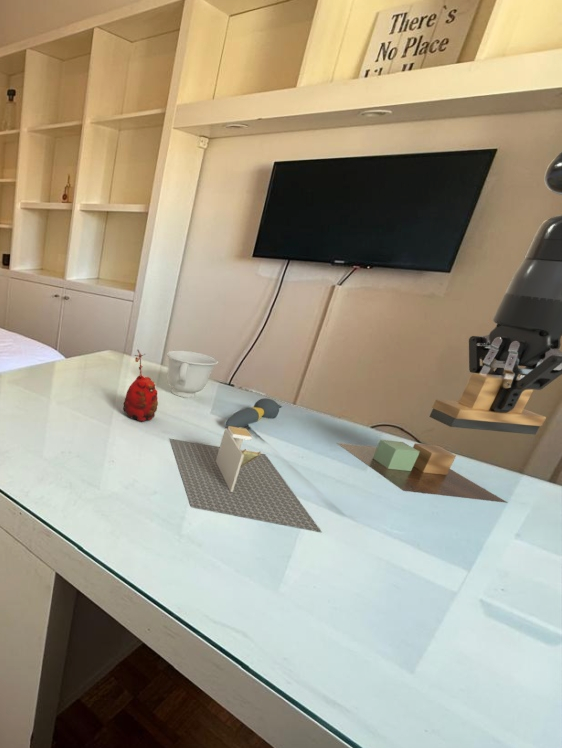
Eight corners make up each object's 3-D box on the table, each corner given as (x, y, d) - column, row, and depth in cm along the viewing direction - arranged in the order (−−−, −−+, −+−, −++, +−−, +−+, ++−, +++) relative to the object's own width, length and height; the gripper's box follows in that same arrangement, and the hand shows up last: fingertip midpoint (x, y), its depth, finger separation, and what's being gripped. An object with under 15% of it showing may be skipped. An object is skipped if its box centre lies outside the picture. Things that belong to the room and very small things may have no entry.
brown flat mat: (418, 456, 91) (420, 451, 91) (504, 508, 74) (508, 502, 74) (333, 447, 92) (335, 442, 92) (400, 496, 76) (403, 490, 75)
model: (234, 464, 82) (246, 426, 80) (252, 495, 73) (265, 453, 70) (215, 461, 83) (226, 423, 80) (230, 491, 73) (243, 449, 71)
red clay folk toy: (150, 426, 97) (165, 358, 91) (117, 417, 100) (129, 351, 95) (157, 415, 103) (171, 351, 97) (126, 407, 106) (138, 345, 101)
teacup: (150, 396, 114) (158, 358, 111) (165, 382, 126) (173, 347, 122) (201, 409, 108) (211, 369, 104) (212, 394, 119) (222, 357, 116)
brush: (508, 423, 73) (532, 376, 70) (536, 435, 68) (564, 385, 66) (427, 416, 74) (448, 369, 71) (451, 427, 69) (474, 378, 67)
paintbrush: (242, 436, 94) (249, 414, 93) (219, 427, 98) (225, 406, 96) (283, 419, 106) (289, 399, 104) (260, 411, 109) (266, 392, 108)
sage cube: (394, 460, 86) (403, 441, 84) (411, 471, 82) (420, 451, 81) (372, 458, 86) (380, 439, 85) (387, 468, 82) (396, 449, 81)
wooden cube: (428, 464, 85) (437, 445, 84) (446, 475, 82) (456, 455, 80) (406, 462, 86) (414, 443, 84) (422, 472, 82) (432, 453, 81)
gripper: (636, 304, 57) (565, 429, 63) (523, 290, 70) (474, 394, 76) (571, 300, 58) (507, 423, 64) (471, 286, 71) (426, 390, 77)
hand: (489, 407), depth 70 cm, fingers closed on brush, 2 cm apart
